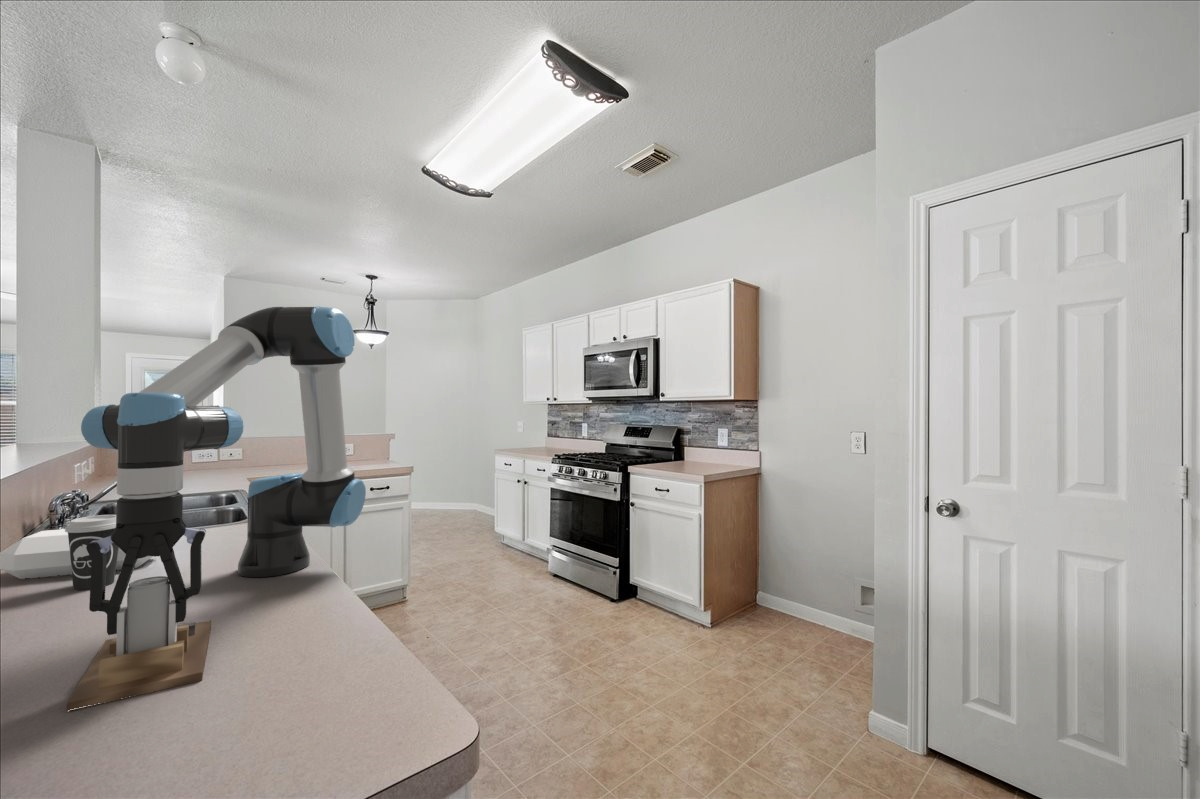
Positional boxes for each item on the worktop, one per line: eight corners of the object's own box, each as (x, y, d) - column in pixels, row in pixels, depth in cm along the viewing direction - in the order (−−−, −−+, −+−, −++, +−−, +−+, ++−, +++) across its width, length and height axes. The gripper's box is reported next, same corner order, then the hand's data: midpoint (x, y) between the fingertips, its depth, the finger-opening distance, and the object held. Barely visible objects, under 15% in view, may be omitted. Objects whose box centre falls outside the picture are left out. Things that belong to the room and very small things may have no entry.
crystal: (150, 531, 125) (-10, 543, 113) (149, 570, 125) (-11, 586, 113) (171, 519, 138) (29, 529, 126) (170, 555, 138) (28, 568, 126)
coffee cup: (133, 580, 117) (134, 515, 117) (79, 595, 108) (81, 524, 108) (107, 576, 120) (108, 512, 120) (52, 589, 111) (54, 521, 111)
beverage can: (142, 671, 74) (144, 587, 74) (116, 667, 74) (118, 585, 75) (176, 655, 78) (178, 577, 78) (151, 652, 79) (153, 574, 79)
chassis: (211, 627, 93) (211, 601, 93) (202, 680, 74) (202, 648, 75) (105, 647, 85) (106, 618, 85) (66, 712, 66) (67, 676, 67)
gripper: (225, 486, 85) (223, 625, 85) (73, 496, 75) (69, 655, 74) (224, 492, 79) (221, 642, 78) (57, 504, 69) (53, 677, 68)
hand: (147, 648), depth 76 cm, fingers open, 5 cm apart
